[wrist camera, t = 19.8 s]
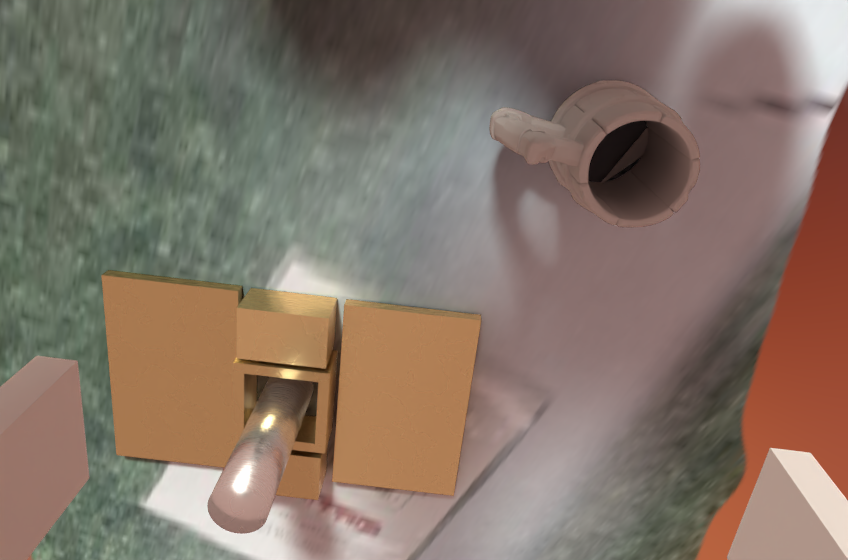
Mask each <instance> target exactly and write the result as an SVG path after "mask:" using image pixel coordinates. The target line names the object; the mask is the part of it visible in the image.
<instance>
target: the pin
mask: <svg viewBox="0 0 848 560" xmlns="http://www.w3.org/2000/svg"><path fill="white" fill-rule="evenodd" d="M313 391H314V383H313V382H312V381H303V380H295V379H286V378H278V377H269V379H268V381H267V383H266V385H265V387H264V389H263V391H262V393H261V395H260V397H259V399H258V401H257V403H256V405H255V407H254V409H253V411H252V413H251V415H250V417H249V419H248V421H247V423H246V425H245V427H244V429H243V431H242V433H241V435H240V438H239V440H238V442H237V444H236V446H235V448H234V450H233V452H232V454H231V456H230V458H229V460H228V462H227V464H226V466H225V468H224V470H223V472H222V474H221V476H220V478H219V480H218V482H217V484H216V486H215V488H214V490H213V492H212V494H211V496H210V498H209V500H208V512H209V514H210V516H211V518H212V519H213V521H214V522H215V523H216V524H217V525H219V526H220V527H221V528H223V529H225V530H227V531H230V532H234V533H250V532H253V531H256V530H258V529H259V528H261V527H262V526H263V525H264V523H265V522H266V520H267V517H268V515H269V512H270V509H271V506H272V504H273V501H274V498H275V495H276V493H277V490H278V487H279V484H280V482H281V479H282V476H283V473H284V471H285V468H286V465H287V462H288V460H289V457H290V454H291V451H292V449H293V446H294V443H295V440H296V438H297V435H298V432H299V429H300V427H301V424H302V421H303V419H304V416H305V413H306V410H307V408H308V405H309V402H310V399H311V397H312V394H313Z"/></svg>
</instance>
